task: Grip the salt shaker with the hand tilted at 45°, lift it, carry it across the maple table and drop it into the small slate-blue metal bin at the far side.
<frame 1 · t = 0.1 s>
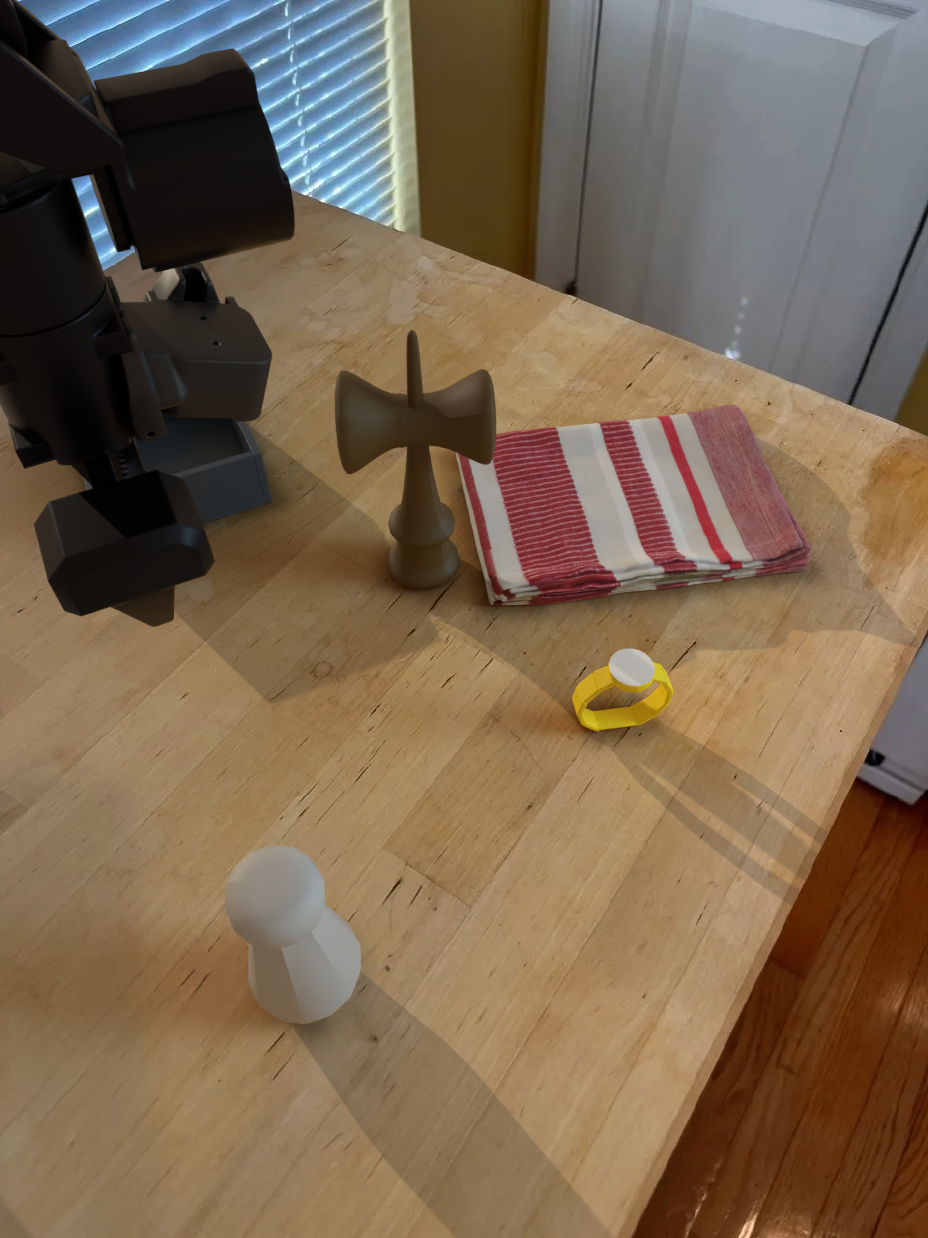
hand: (141, 558, 49), 15 cm above the table, tool pointing down, fingers open, 9 cm apart
kendama: (424, 568, 68), on the table
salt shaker: (311, 979, 50), on the table
dish towel: (622, 510, 71), on the table
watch: (615, 721, 60), on the table
bin: (174, 475, 74), on the table
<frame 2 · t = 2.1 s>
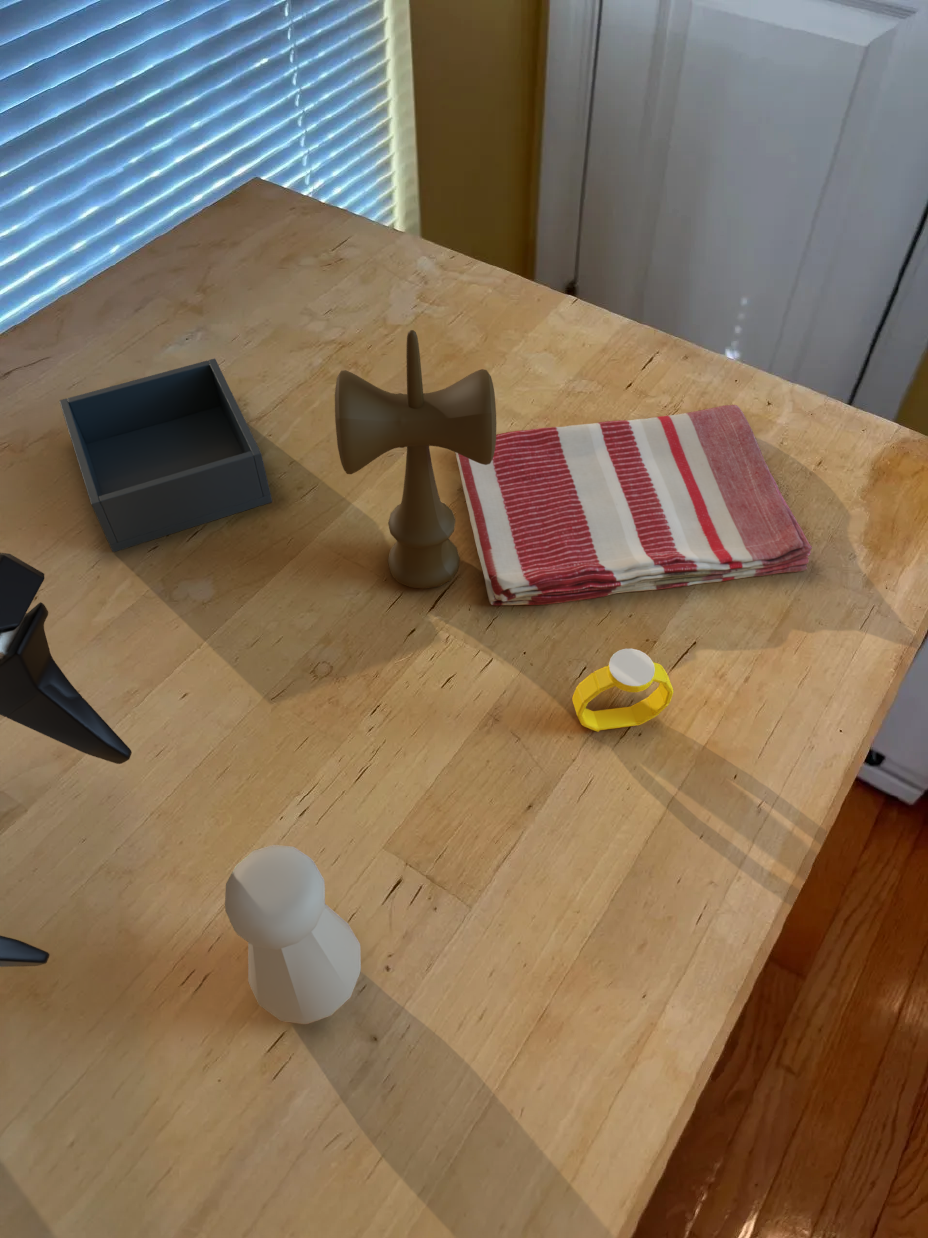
hand: (88, 852, 40), 13 cm above the table, tool tilted 45°, fingers open, 9 cm apart
nothing on the table moved.
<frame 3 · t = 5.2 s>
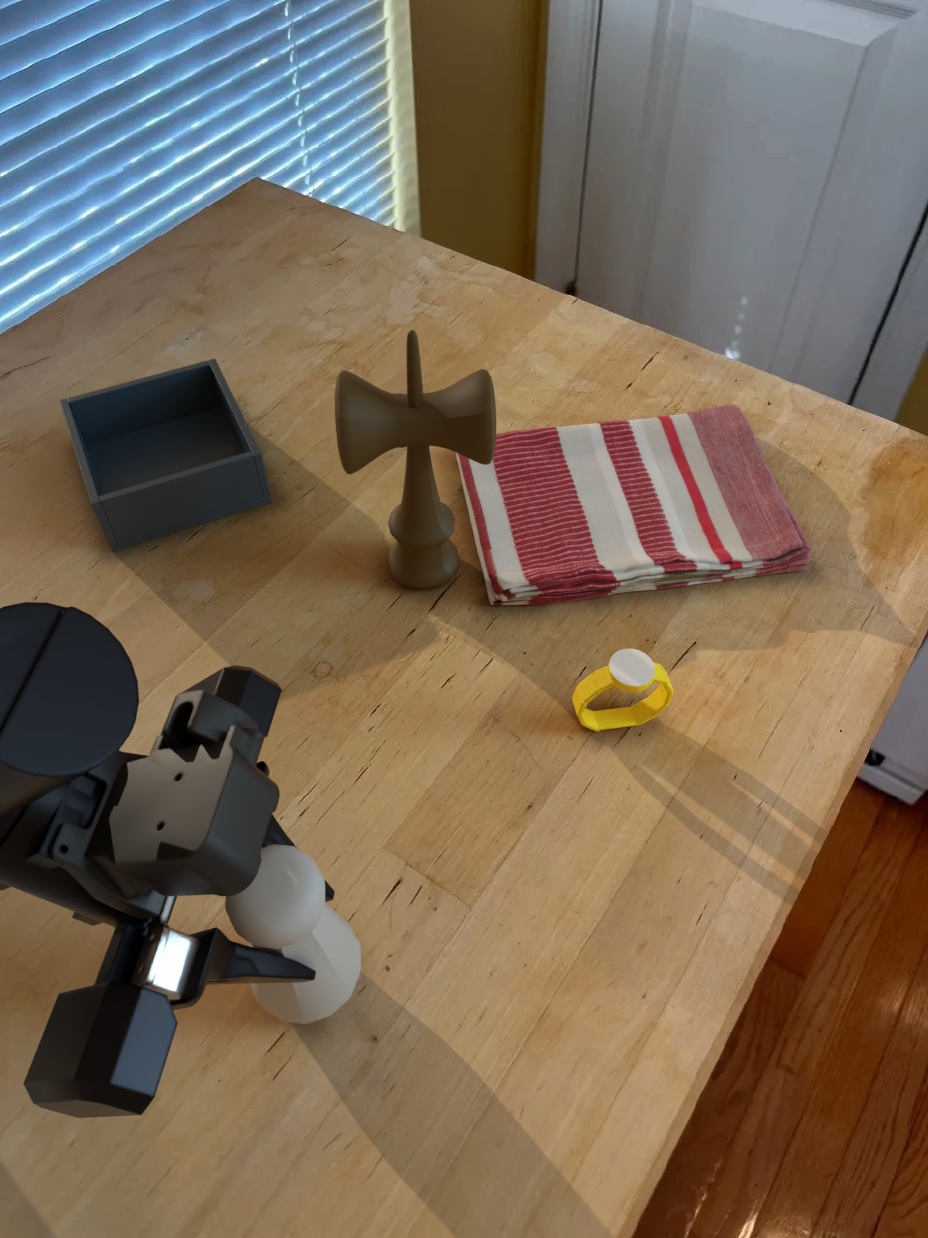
hand: (319, 937, 44), 7 cm above the table, tool tilted 45°, fingers closed on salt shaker, 3 cm apart
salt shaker: (311, 979, 50), on the table, touching gripper
everything else where it was.
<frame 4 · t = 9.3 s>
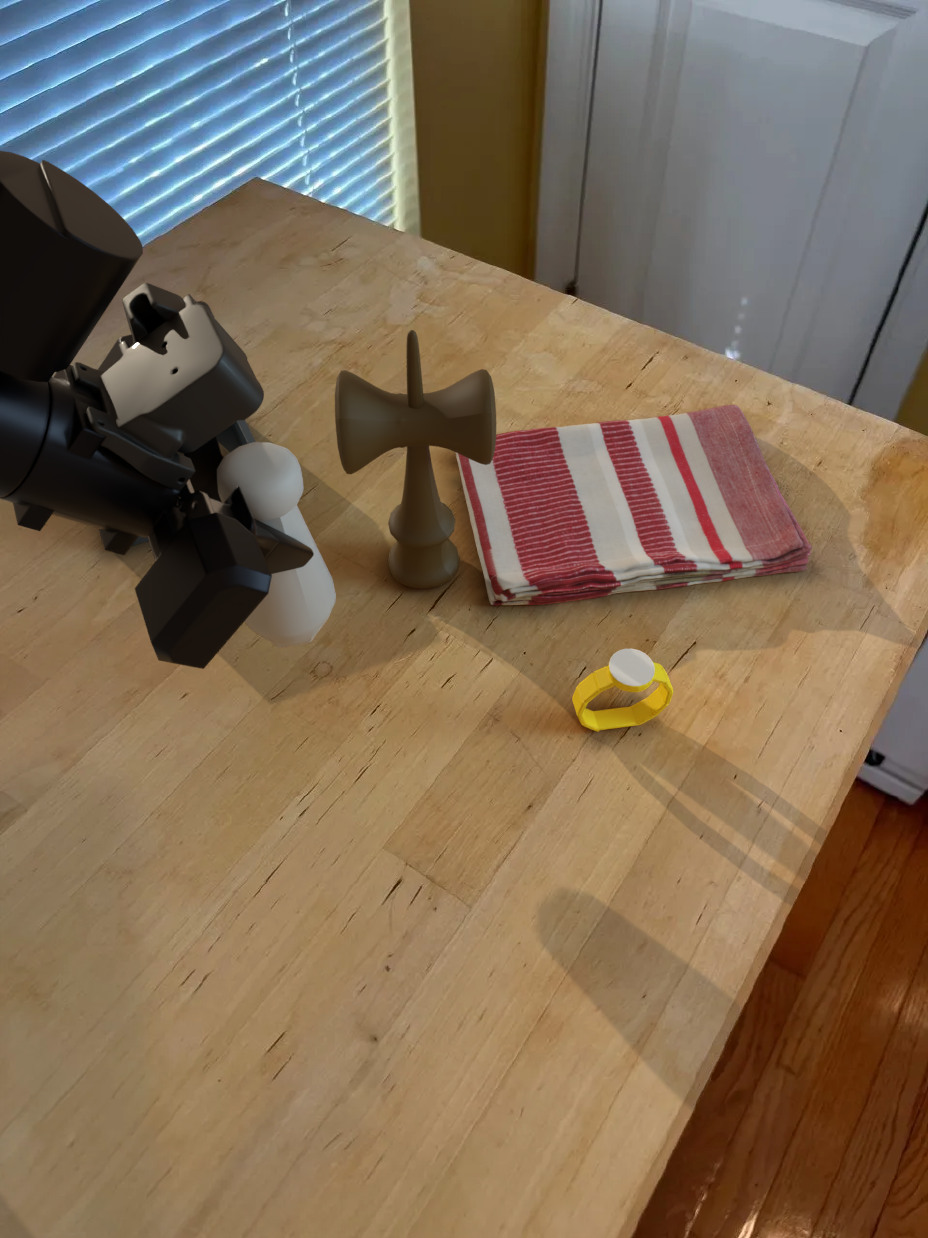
hand: (297, 534, 52), 13 cm above the table, tool tilted 45°, fingers closed on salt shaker, 3 cm apart
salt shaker: (291, 623, 57), point 6 cm above the table, touching gripper
everything else where it was.
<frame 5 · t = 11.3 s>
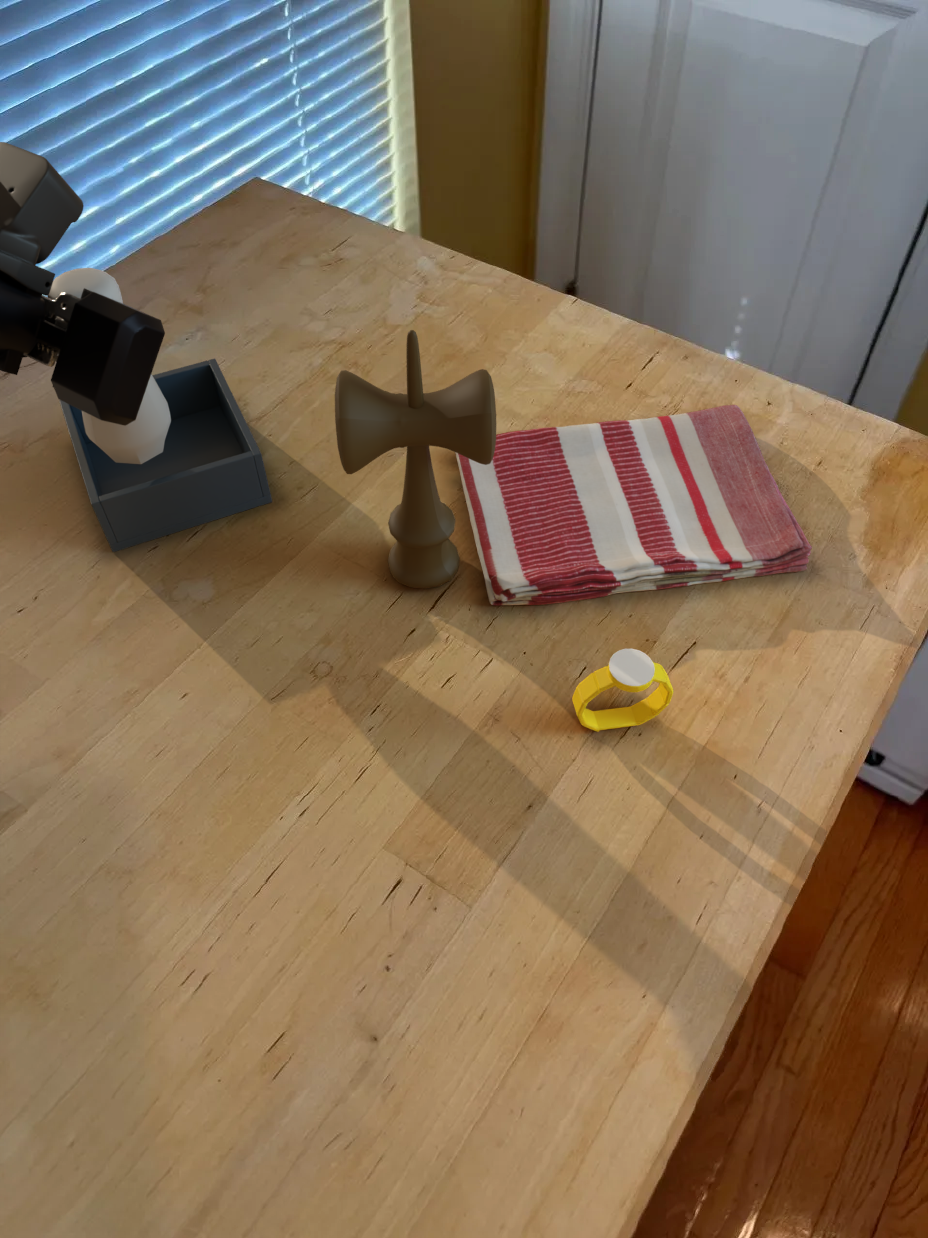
hand: (122, 351, 62), 13 cm above the table, tool tilted 45°, fingers closed on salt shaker, 3 cm apart
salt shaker: (137, 447, 67), point 6 cm above the table, touching gripper
everything else where it was.
when the fingers open (10 cm above the table, at t = 13.3 s): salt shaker drops 2 cm, resting on bin.
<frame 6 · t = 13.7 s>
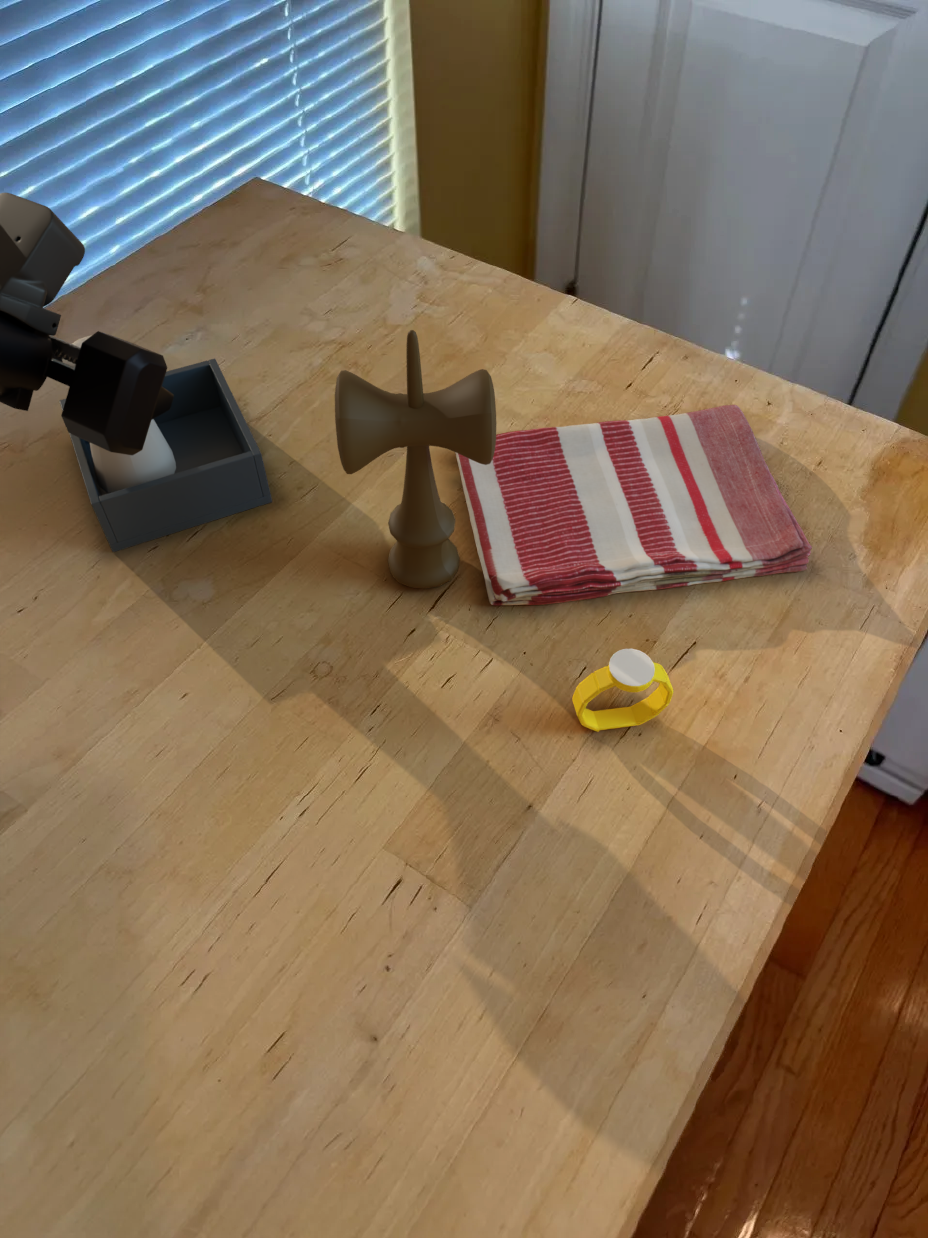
hand: (122, 381, 65), 10 cm above the table, tool tilted 45°, fingers open, 8 cm apart
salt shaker: (144, 492, 72), point 1 cm above the table, touching bin
everything else where it was.
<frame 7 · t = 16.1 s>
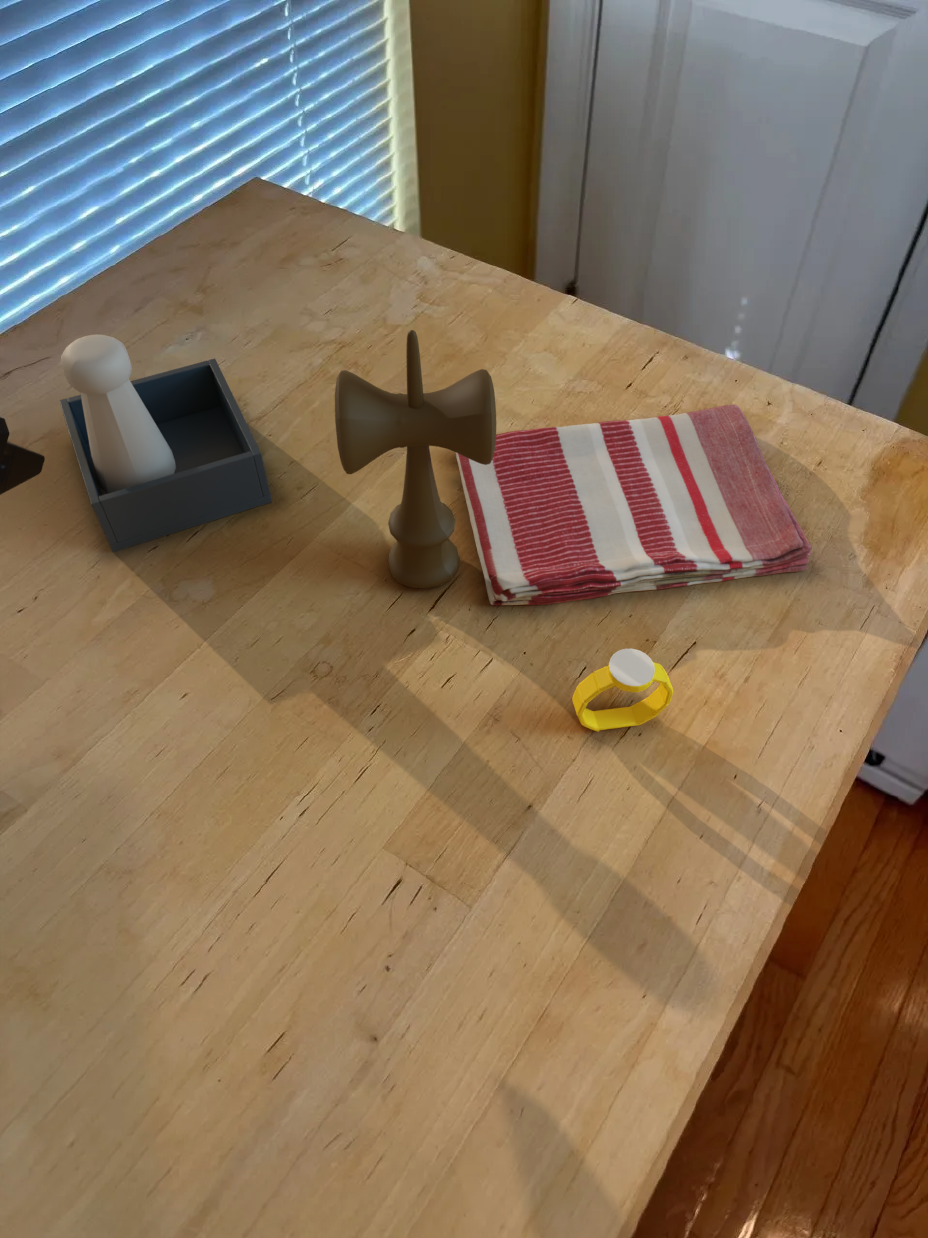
nothing on the table moved.
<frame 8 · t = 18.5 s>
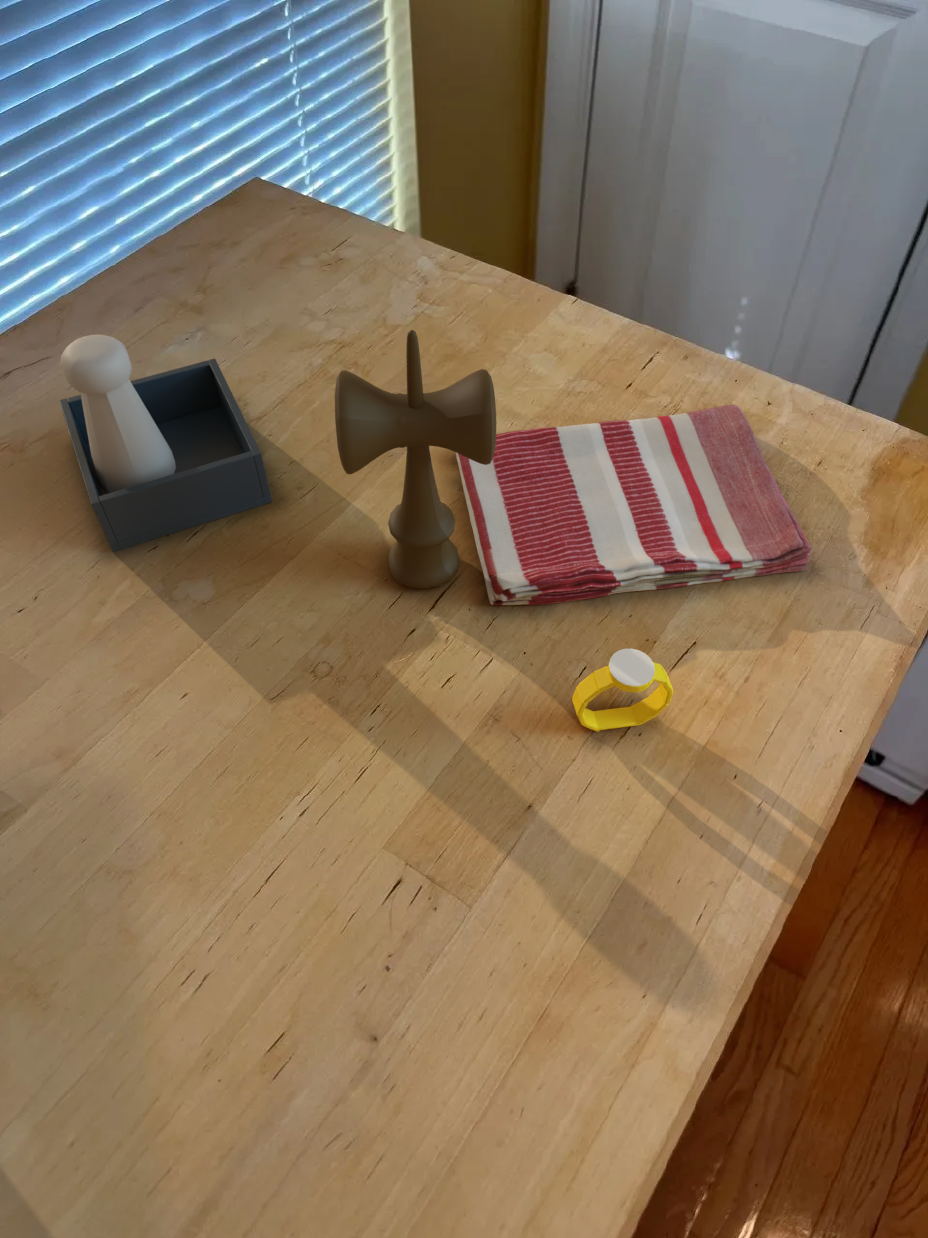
nothing on the table moved.
at the end: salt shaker inside the target area in the bin (3.0 cm from its centre), point 0.6 cm above the bin's base; the gripper is holding nothing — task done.
